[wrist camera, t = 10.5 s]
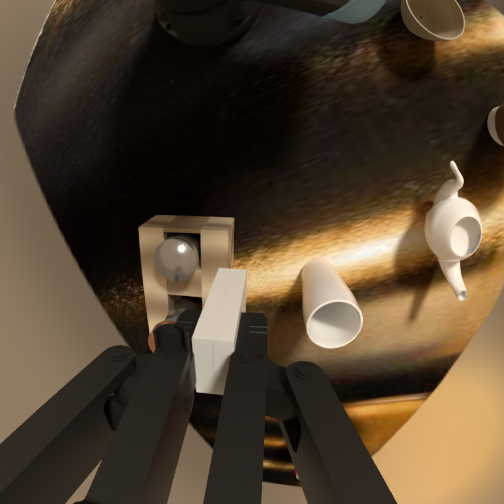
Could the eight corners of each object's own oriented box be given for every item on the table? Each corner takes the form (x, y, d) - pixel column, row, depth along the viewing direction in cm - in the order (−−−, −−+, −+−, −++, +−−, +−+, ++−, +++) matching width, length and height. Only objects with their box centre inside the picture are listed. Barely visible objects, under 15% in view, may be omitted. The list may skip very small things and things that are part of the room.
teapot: (455, 155, 40) (489, 160, 32) (458, 270, 47) (485, 293, 38) (405, 160, 42) (434, 165, 33) (412, 281, 48) (436, 308, 39)
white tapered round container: (415, 59, 36) (437, 49, 29) (376, 8, 34) (391, -10, 27) (453, 38, 34) (476, 28, 27) (416, -10, 31) (434, -26, 24)
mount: (156, 215, 46) (138, 227, 40) (234, 217, 46) (228, 230, 39) (167, 345, 55) (155, 369, 48) (232, 352, 54) (227, 378, 47)
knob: (172, 221, 44) (152, 238, 36) (209, 222, 44) (195, 240, 36) (173, 256, 46) (155, 279, 38) (209, 258, 46) (197, 283, 38)
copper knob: (165, 292, 43) (145, 324, 35) (203, 295, 43) (189, 329, 35) (168, 325, 45) (151, 360, 37) (204, 328, 44) (192, 365, 37)
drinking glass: (300, 296, 50) (309, 354, 36) (292, 257, 48) (300, 306, 33) (341, 287, 49) (365, 342, 35) (336, 248, 47) (361, 293, 33)
